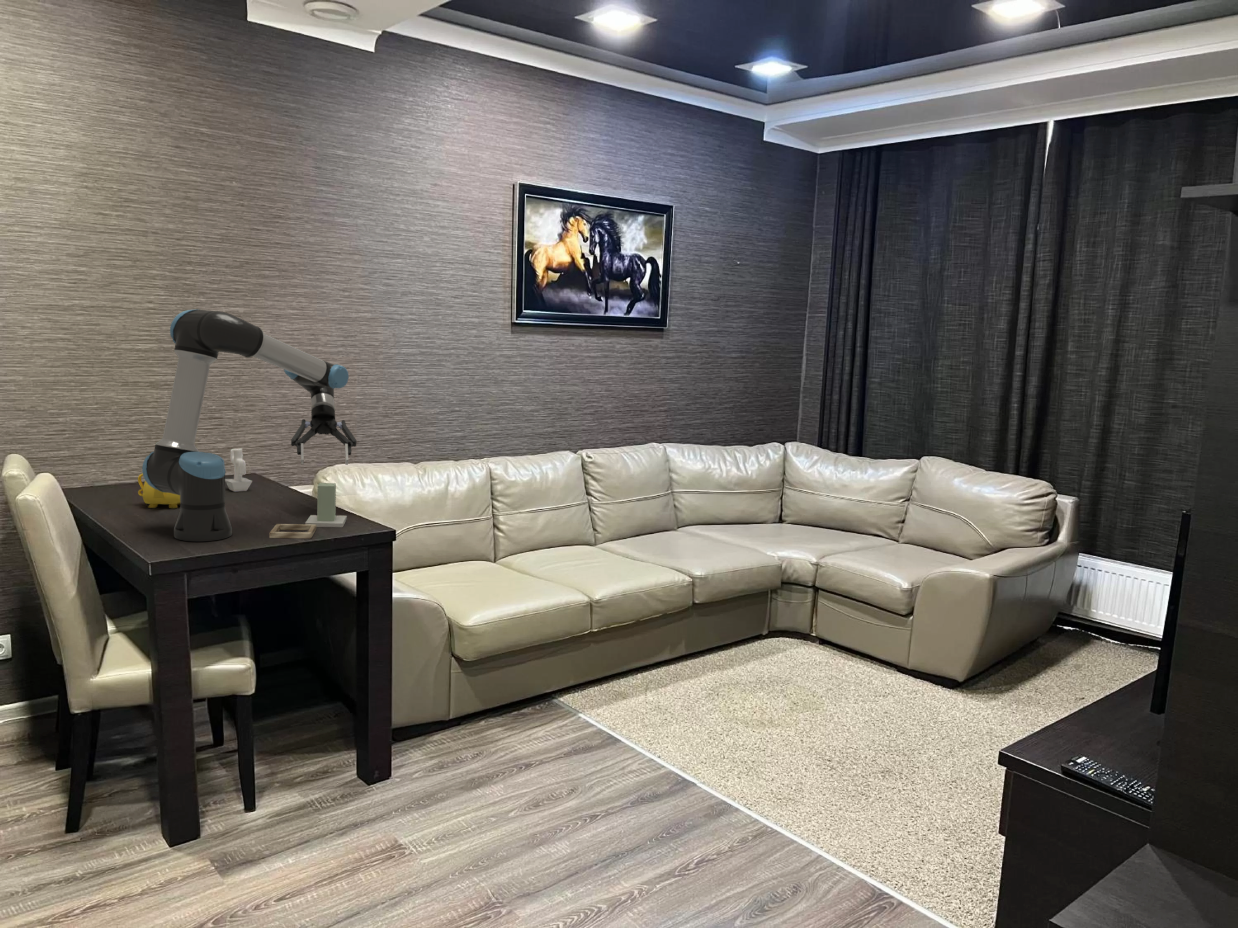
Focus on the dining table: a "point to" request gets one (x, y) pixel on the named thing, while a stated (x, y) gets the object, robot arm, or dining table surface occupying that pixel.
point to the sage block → (326, 501)
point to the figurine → (238, 472)
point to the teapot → (157, 496)
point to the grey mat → (337, 522)
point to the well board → (278, 527)
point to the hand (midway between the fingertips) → (324, 462)
